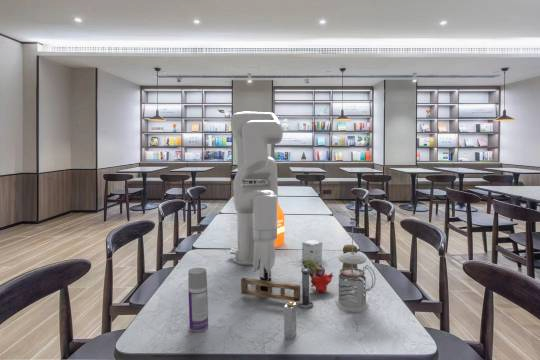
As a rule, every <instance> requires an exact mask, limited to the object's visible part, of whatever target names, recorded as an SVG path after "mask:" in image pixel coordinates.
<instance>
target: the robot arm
mask: <svg viewBox="0 0 540 360" xmlns="http://www.w3.org/2000/svg"><path fill="white" fill-rule="evenodd" d="M230 129H231V133H232V135H233V138H234V141H235V144H236V154H237V155H236V158H237V162H236V163H237V172H236V174H235V176H234V179H233V183H232V185H233V186H232V188H233V203H234V205H233V206H234V208H235V210H236V222H237V223H236V226H237V229H236V231H237V233H236V234H237V248H235V247H231V248H230V251H229V254H230V255H235V256H234V258H233V261H234V263H236V264H237V265H240V266H252V267H253V272H254V273H257V272H258V270H259V280H266V281H272V269H273V267H274V265H275V262H276V248H275V240H276V239H277V204H279V203H278V201H279V200H278V197H279V194H278V193H279V190H278V189H279V187H278V186H279V185H278V184H279V183H278V165H277V161H276V160H275V158H273V157H271V156H269V148H268V144H269V145H277V144H280V143H281V142H282V140H283V136H284V134H283V133H284V132H283V127H282V124H281V121H280V120H279V119H278V117H277V116H276V114H275V113H273V112H268V111H267V112H266V111H265V112H263V111H259V112H258V111H240V112H239V111H238V112H234V113H233V114H232V116H231V117H230ZM243 181H264V182H265V183H245V184H243ZM260 291H267V292H268V286H260Z"/></svg>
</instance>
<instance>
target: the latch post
mask: <svg viewBox="0 0 540 360" xmlns="http://www.w3.org/2000/svg"><path fill="white" fill-rule="evenodd" d="M286 301H287V302H286V304H285V305H284V307H283V327H284V328H283V329H284V331H283V336H284V338H283V339H285V340H288V341H293V340H294V339H295V337H296V335H297V302H295V301H289V300H286Z"/></svg>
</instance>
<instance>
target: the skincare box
mask: <svg viewBox="0 0 540 360" xmlns="http://www.w3.org/2000/svg"><path fill="white" fill-rule="evenodd" d="M301 246H302V247H301V259H302V260H306V259H310V260H312V261H313V263H315V262H319V261H320V260H322V259H323V242H322V241H319V240H315V239H308V240H305V241H302V242H301Z"/></svg>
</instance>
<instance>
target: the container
mask: <svg viewBox="0 0 540 360" xmlns="http://www.w3.org/2000/svg"><path fill="white" fill-rule="evenodd" d="M187 279H188V281H187V282H188V284H187V285H188V286H187V287H188V290H187V292H188V320H189V322H188V323H189V330H190V331H191V332H193V331H194V332H193V333H201V332H200V331H202V332H204V331H206V330H207V329H208V328H209V310H208V307H209V306H208V305H209V302H208V298H209V297H208V280H207V279H208V278H207V269H206V268H205V267H193V268H190V269H188V277H187Z"/></svg>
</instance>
